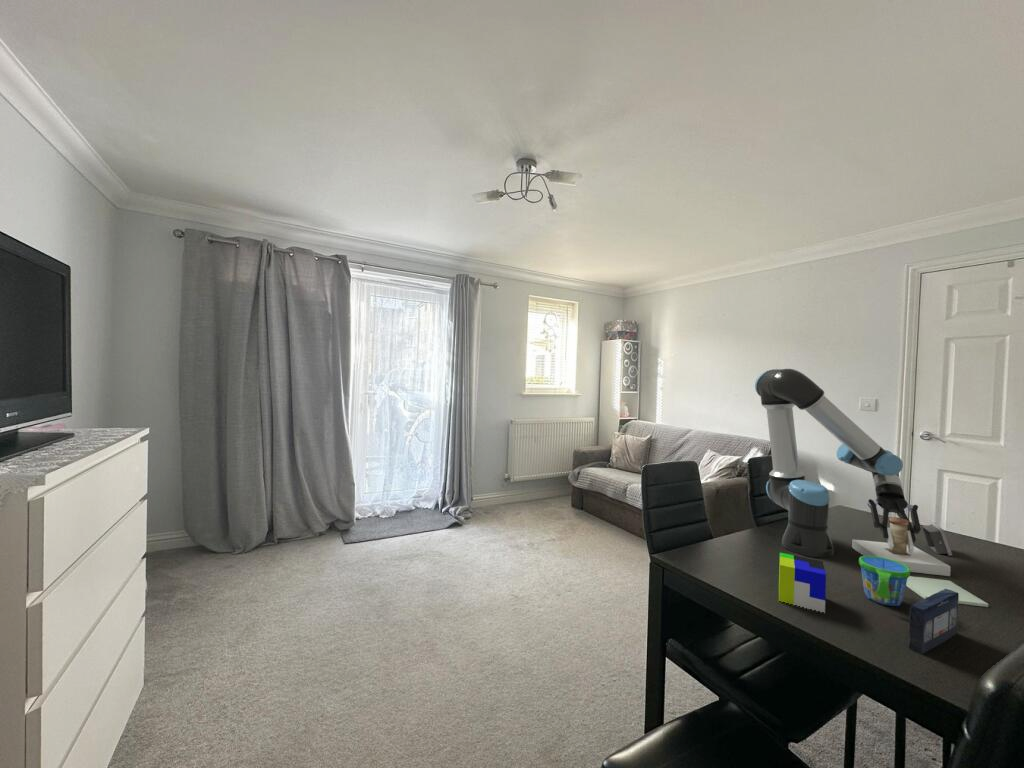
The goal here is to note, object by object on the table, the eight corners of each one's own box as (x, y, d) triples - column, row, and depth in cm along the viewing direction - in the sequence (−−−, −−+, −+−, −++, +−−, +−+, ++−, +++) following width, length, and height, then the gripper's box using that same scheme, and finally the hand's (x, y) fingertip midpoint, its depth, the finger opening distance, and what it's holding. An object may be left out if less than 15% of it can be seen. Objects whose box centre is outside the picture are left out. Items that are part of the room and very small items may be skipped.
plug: (893, 562, 141) (894, 520, 141) (884, 557, 146) (885, 516, 146) (910, 564, 140) (912, 522, 140) (901, 558, 145) (902, 517, 145)
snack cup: (906, 618, 107) (907, 578, 107) (853, 602, 115) (854, 564, 115) (911, 598, 118) (912, 561, 118) (862, 584, 125) (863, 550, 125)
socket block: (881, 568, 137) (882, 559, 137) (852, 547, 154) (852, 539, 154) (950, 576, 132) (950, 566, 132) (911, 553, 150) (911, 545, 150)
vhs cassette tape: (922, 655, 93) (923, 610, 93) (905, 647, 95) (906, 603, 95) (960, 635, 101) (961, 593, 100) (943, 628, 103) (944, 588, 103)
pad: (925, 599, 117) (925, 596, 117) (893, 576, 131) (893, 574, 131) (988, 607, 114) (988, 604, 114) (949, 583, 127) (949, 580, 127)
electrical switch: (953, 557, 148) (950, 530, 148) (932, 555, 150) (930, 528, 150) (941, 548, 156) (939, 522, 156) (923, 546, 158) (920, 521, 159)
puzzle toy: (824, 613, 109) (826, 574, 109) (778, 601, 114) (779, 564, 114) (821, 597, 117) (822, 561, 117) (778, 587, 123) (779, 552, 123)
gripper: (917, 497, 152) (934, 560, 138) (856, 490, 161) (865, 548, 146) (923, 486, 148) (940, 549, 133) (859, 479, 156) (869, 538, 142)
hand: (901, 549), depth 140 cm, fingers closed on plug, 4 cm apart
